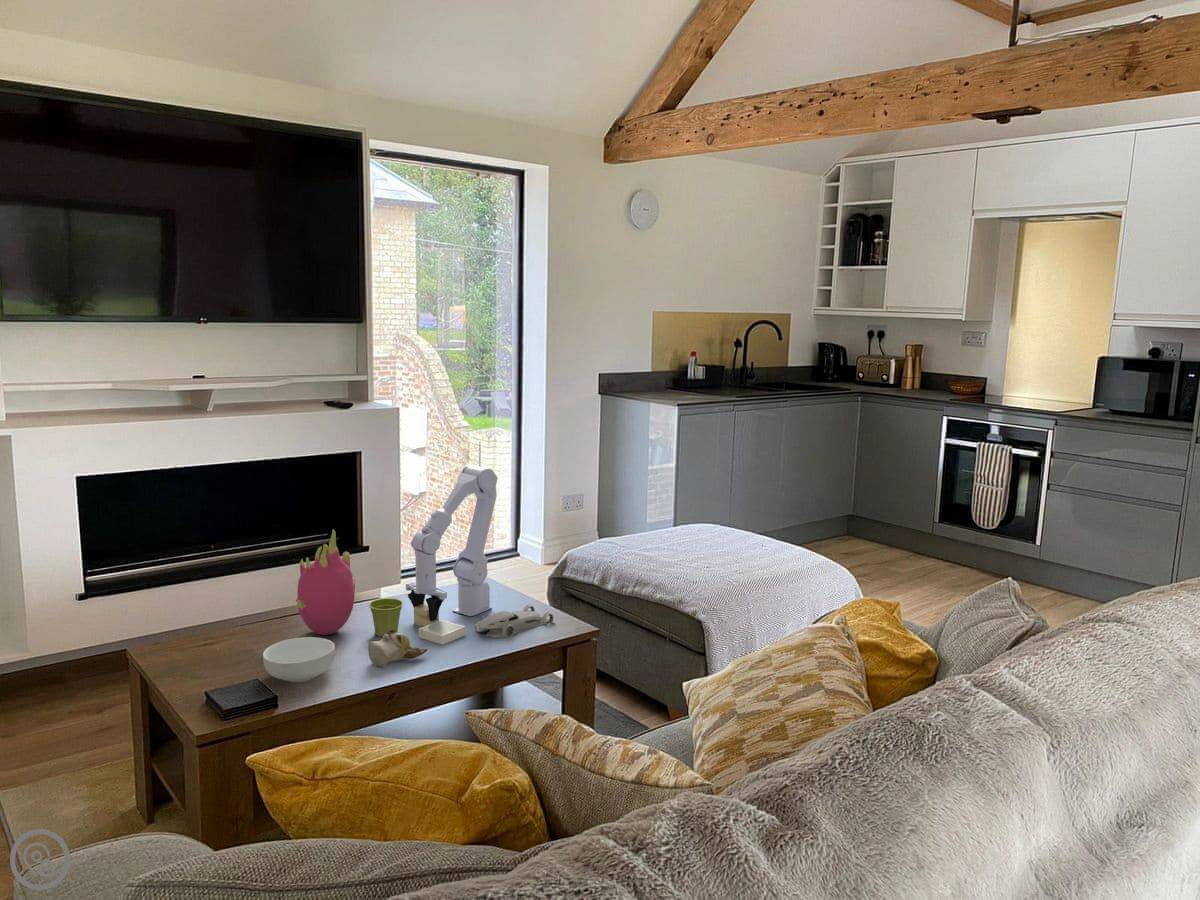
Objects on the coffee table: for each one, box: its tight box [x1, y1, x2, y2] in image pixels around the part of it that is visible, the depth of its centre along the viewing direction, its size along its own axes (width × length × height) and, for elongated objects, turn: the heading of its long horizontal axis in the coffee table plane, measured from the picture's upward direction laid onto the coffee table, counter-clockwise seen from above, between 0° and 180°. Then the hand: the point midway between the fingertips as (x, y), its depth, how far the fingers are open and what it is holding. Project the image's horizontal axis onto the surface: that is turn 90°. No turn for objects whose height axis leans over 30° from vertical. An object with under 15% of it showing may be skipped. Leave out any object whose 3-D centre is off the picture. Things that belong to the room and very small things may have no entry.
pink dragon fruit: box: [295, 528, 356, 636], centre depth 248 cm, size 18×14×30 cm
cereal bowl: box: [262, 636, 336, 683], centre depth 221 cm, size 17×17×7 cm
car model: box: [474, 604, 555, 639], centre depth 258 cm, size 11×24×5 cm, turn 134°
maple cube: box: [413, 602, 440, 627], centre depth 259 cm, size 5×5×5 cm
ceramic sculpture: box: [367, 630, 428, 668], centre depth 231 cm, size 11×9×15 cm
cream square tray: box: [418, 619, 466, 645], centre depth 249 cm, size 9×9×3 cm
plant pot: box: [368, 597, 404, 637], centre depth 250 cm, size 9×9×9 cm
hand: (426, 618), depth 260 cm, fingers closed on maple cube, 5 cm apart
